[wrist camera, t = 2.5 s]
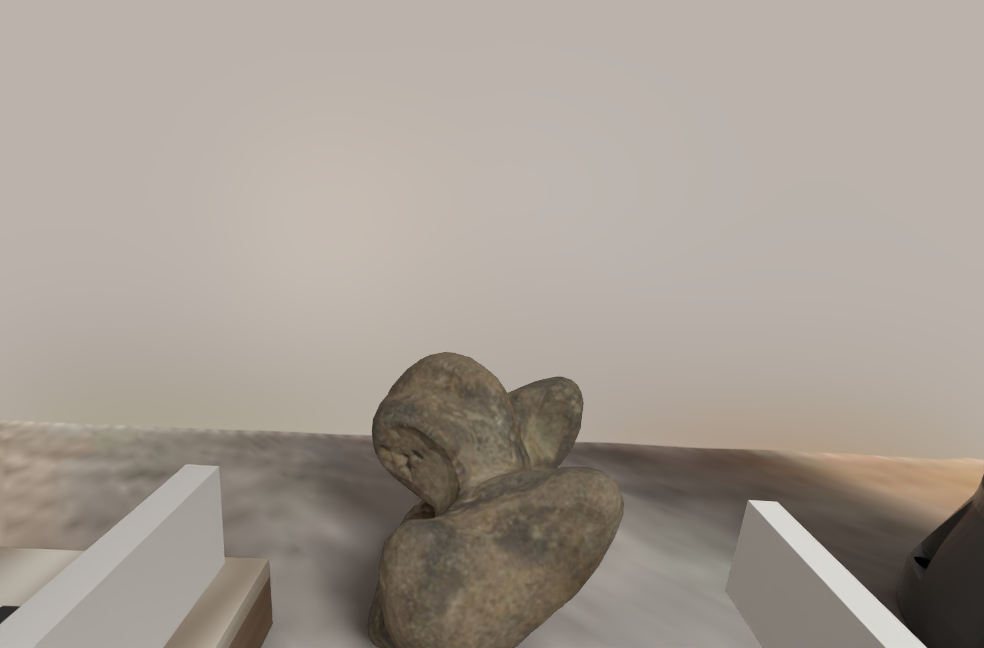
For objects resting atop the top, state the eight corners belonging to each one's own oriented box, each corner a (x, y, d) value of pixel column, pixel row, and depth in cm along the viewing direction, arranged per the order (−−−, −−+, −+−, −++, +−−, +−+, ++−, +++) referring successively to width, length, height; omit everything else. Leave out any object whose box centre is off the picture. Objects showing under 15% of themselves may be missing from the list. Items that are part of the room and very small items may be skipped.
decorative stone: (408, 516, 33) (415, 311, 29) (563, 532, 32) (590, 326, 28) (308, 793, 17) (296, 428, 13) (604, 831, 17) (675, 464, 13)
